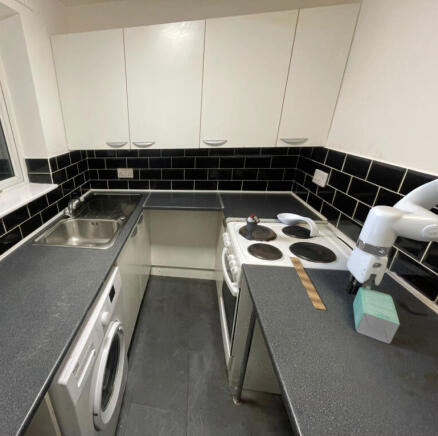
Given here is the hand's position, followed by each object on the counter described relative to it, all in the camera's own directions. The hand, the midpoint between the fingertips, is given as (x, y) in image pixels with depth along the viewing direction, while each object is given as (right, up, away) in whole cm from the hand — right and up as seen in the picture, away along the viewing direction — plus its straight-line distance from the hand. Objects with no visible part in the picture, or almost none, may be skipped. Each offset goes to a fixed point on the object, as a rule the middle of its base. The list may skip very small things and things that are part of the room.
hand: (351, 292), depth 77 cm
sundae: (-17, +15, +40) cm, 46 cm away
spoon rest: (+13, +20, +49) cm, 55 cm away
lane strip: (-9, +2, +10) cm, 13 cm away
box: (-2, -6, -8) cm, 10 cm away
